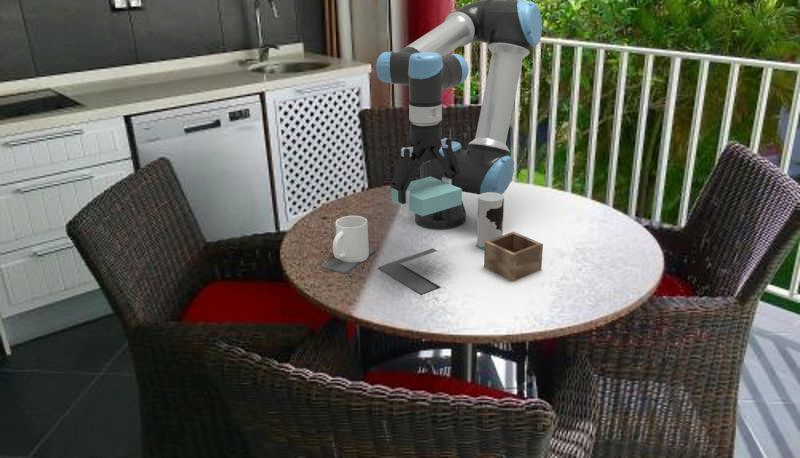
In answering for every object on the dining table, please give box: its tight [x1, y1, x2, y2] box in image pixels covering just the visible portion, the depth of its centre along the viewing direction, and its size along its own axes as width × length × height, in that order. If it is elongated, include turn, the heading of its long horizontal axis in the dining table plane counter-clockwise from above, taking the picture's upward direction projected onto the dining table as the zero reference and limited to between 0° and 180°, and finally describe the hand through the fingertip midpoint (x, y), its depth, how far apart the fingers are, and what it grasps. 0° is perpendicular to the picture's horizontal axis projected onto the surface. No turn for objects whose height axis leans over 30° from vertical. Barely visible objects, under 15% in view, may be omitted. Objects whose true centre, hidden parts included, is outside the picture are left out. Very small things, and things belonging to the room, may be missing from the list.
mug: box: [332, 215, 370, 263], centre depth 177 cm, size 12×8×10 cm
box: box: [483, 231, 544, 283], centre depth 169 cm, size 10×10×8 cm
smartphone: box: [322, 247, 376, 275], centre depth 179 cm, size 8×1×15 cm
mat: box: [377, 248, 442, 296], centre depth 172 cm, size 18×18×1 cm
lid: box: [391, 176, 463, 216], centre depth 164 cm, size 12×12×5 cm
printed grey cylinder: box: [476, 192, 505, 251], centre depth 180 cm, size 7×7×15 cm
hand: (426, 209), depth 165 cm, fingers closed on lid, 12 cm apart
